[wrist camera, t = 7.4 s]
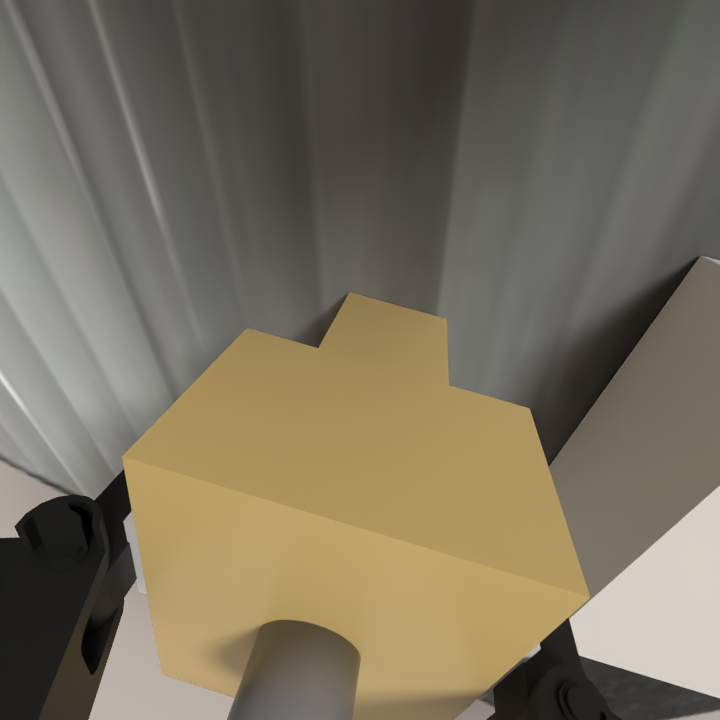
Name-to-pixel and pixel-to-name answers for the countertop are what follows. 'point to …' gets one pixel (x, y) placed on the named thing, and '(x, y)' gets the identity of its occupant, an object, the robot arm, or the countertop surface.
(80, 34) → the countertop surface
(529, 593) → the plug
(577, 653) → the robot arm
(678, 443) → the socket
